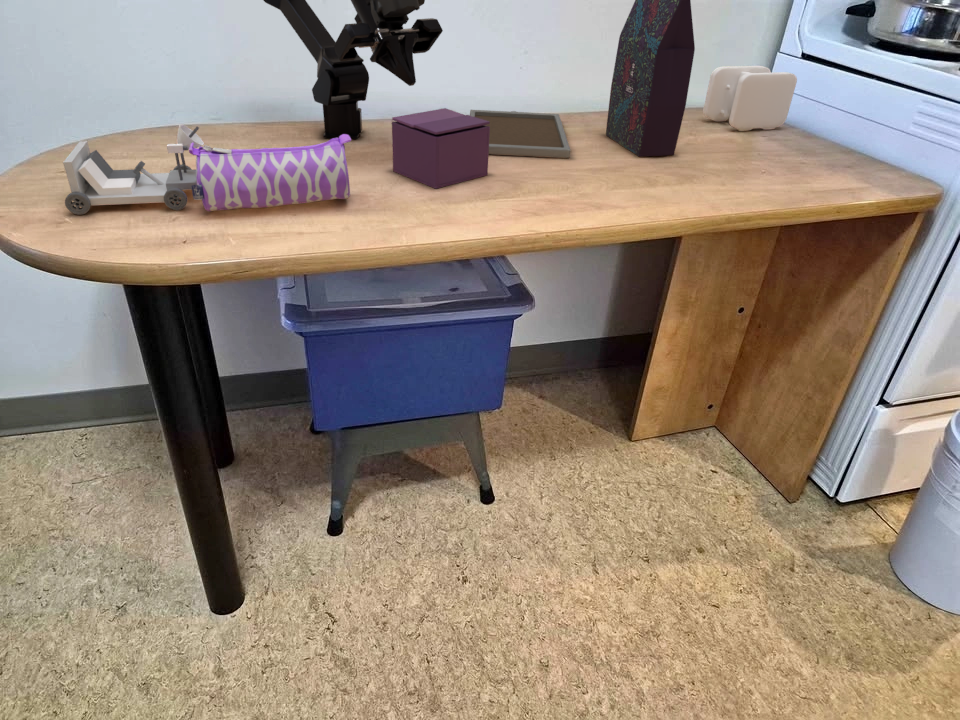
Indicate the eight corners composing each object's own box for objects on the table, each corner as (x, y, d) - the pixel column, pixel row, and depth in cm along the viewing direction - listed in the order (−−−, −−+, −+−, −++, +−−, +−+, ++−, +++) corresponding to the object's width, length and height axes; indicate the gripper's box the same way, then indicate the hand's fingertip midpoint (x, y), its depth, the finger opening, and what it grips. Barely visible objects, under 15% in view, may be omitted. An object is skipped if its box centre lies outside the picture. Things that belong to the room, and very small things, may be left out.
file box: (392, 171, 115) (391, 117, 110) (444, 159, 122) (445, 107, 117) (435, 188, 109) (436, 132, 104) (487, 175, 115) (490, 121, 111)
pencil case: (197, 222, 93) (184, 152, 88) (195, 199, 100) (183, 133, 95) (358, 208, 100) (355, 142, 95) (346, 187, 107) (342, 125, 102)
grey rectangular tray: (465, 144, 124) (470, 106, 150) (465, 153, 125) (470, 114, 150) (570, 149, 124) (558, 110, 150) (569, 158, 125) (557, 118, 151)
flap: (392, 119, 110) (392, 117, 110) (445, 110, 117) (445, 108, 117) (413, 127, 107) (413, 125, 107) (466, 117, 114) (466, 115, 114)
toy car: (202, 117, 101) (196, 139, 92) (213, 182, 107) (208, 209, 97) (67, 119, 97) (46, 142, 88) (86, 187, 102) (68, 215, 93)
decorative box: (638, 133, 143) (664, -20, 128) (678, 156, 130) (711, -11, 115) (602, 134, 141) (624, -21, 126) (638, 158, 128) (668, -13, 112)
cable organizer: (727, 132, 147) (741, 74, 140) (699, 120, 155) (710, 65, 149) (784, 129, 151) (800, 73, 145) (753, 117, 159) (767, 64, 153)
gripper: (340, -37, 101) (387, 57, 100) (436, -37, 112) (479, 47, 111) (314, 16, 110) (358, 102, 109) (406, 11, 121) (446, 89, 120)
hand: (412, 84), depth 112 cm, fingers closed
